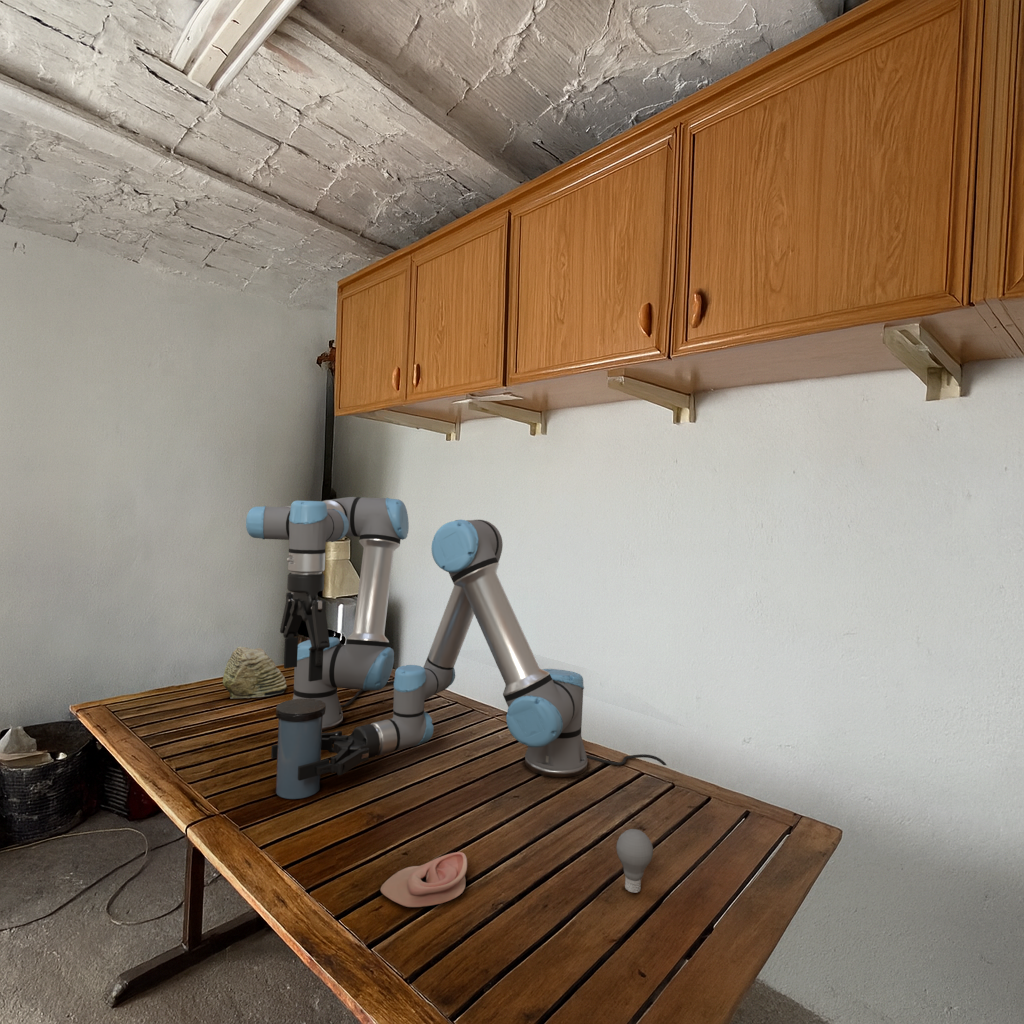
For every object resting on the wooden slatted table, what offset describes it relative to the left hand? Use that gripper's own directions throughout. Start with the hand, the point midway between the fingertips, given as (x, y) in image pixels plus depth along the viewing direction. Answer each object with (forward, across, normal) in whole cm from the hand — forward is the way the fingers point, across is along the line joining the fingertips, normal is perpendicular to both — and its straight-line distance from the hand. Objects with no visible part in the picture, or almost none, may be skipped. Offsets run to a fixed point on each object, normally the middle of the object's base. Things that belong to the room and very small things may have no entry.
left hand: (302, 673), depth 136 cm
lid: (+7, 0, 0) cm, 7 cm away
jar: (+25, 0, 0) cm, 25 cm away
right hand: (+19, 0, -3) cm, 19 cm away
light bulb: (+25, +68, +27) cm, 78 cm away
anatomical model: (+25, +46, +1) cm, 52 cm away
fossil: (+25, -68, +17) cm, 75 cm away
